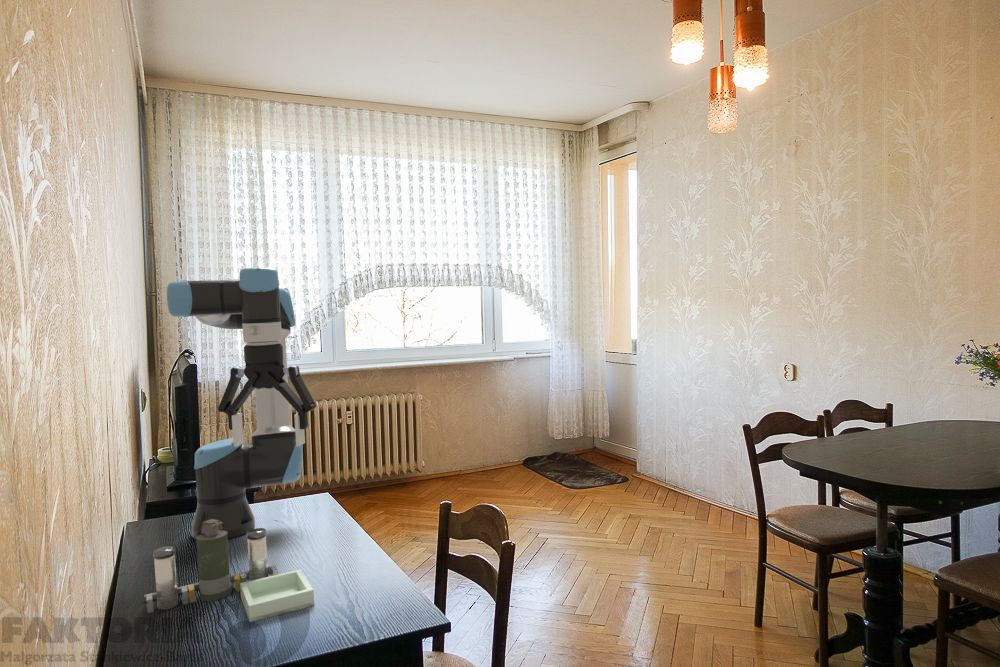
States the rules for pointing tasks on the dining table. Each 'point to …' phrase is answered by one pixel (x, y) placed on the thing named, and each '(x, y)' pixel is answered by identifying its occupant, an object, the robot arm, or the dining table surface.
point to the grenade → (213, 561)
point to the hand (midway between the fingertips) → (269, 445)
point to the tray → (276, 595)
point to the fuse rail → (170, 591)
